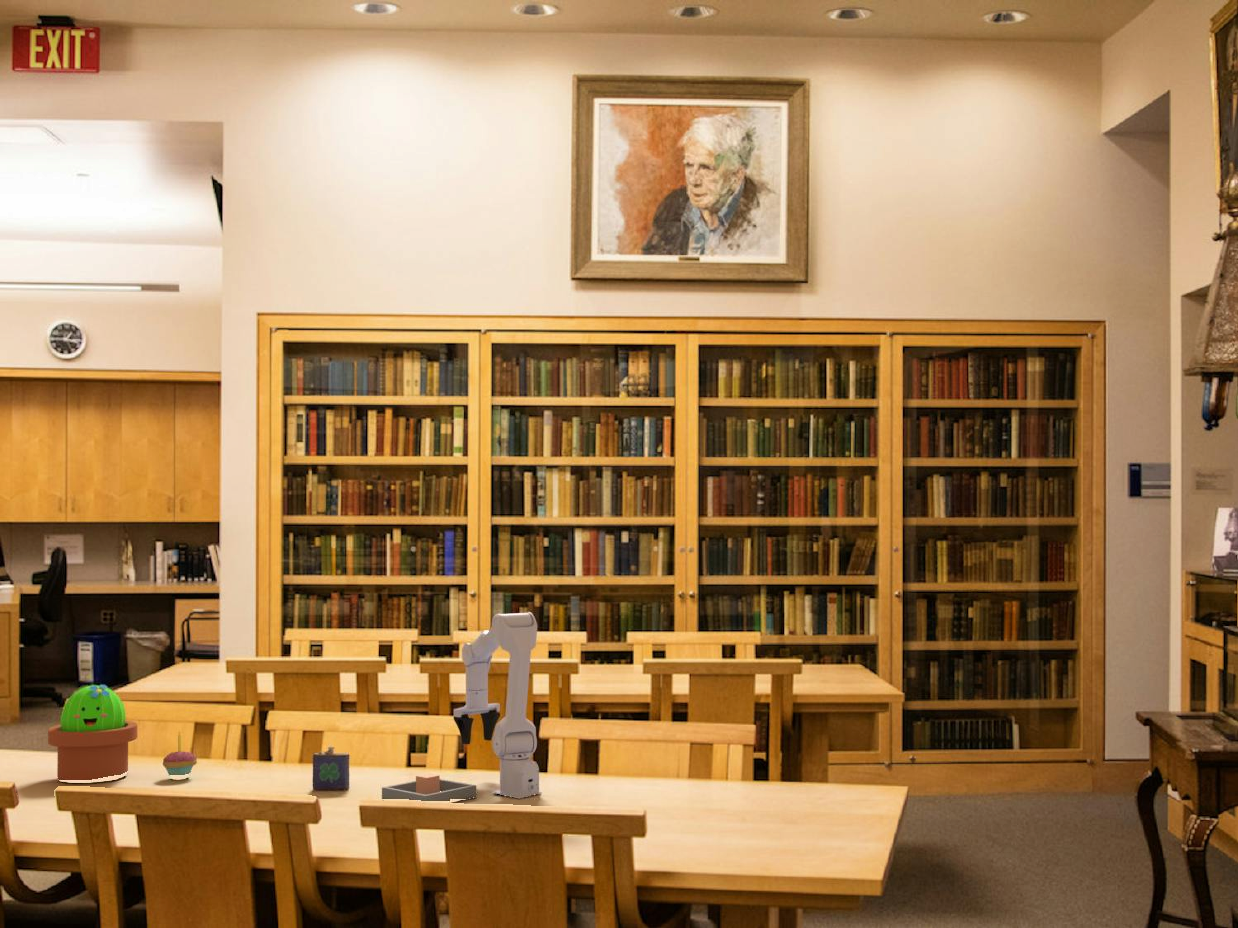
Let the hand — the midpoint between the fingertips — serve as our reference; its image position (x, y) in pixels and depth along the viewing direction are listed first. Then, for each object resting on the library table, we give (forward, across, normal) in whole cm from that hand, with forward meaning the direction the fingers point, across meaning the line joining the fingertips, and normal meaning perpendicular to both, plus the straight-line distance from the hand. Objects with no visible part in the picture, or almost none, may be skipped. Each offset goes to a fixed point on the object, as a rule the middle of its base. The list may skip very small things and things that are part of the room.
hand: (477, 741), depth 357 cm
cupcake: (+10, +49, -61) cm, 79 cm away
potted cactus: (+10, +63, -80) cm, 102 cm away
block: (+9, +25, +10) cm, 28 cm away
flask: (+10, +33, -18) cm, 39 cm away
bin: (+9, +25, +10) cm, 29 cm away
